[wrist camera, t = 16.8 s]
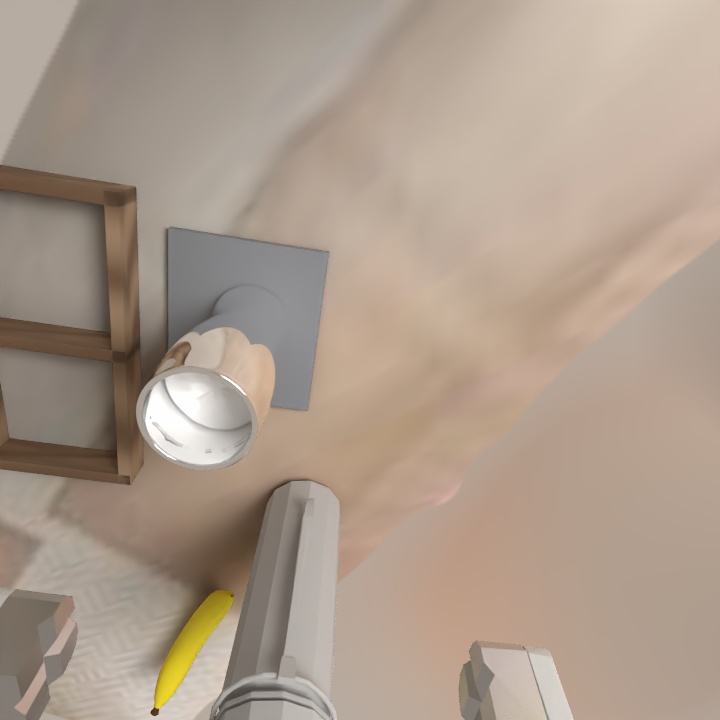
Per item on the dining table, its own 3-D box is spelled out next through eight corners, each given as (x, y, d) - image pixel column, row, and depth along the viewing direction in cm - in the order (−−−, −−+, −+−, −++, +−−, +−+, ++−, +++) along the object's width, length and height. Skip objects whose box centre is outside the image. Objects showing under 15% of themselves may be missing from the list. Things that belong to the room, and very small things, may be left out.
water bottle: (336, 539, 52) (318, 864, 29) (259, 525, 51) (179, 849, 28) (357, 467, 48) (355, 777, 25) (274, 450, 47) (196, 756, 25)
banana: (255, 561, 53) (243, 614, 48) (184, 663, 60) (166, 720, 54) (230, 550, 53) (214, 603, 47) (161, 655, 60) (139, 712, 54)
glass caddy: (-50, 156, 36) (-83, 160, 34) (135, 186, 37) (118, 192, 35) (-1, 446, 47) (-23, 466, 44) (143, 464, 48) (130, 485, 45)
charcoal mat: (170, 226, 39) (167, 228, 38) (329, 251, 39) (328, 253, 39) (170, 388, 44) (168, 392, 44) (308, 407, 45) (307, 411, 45)
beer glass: (274, 267, 39) (228, 347, 26) (307, 346, 42) (281, 455, 29) (192, 295, 40) (106, 386, 27) (229, 370, 43) (169, 487, 30)
